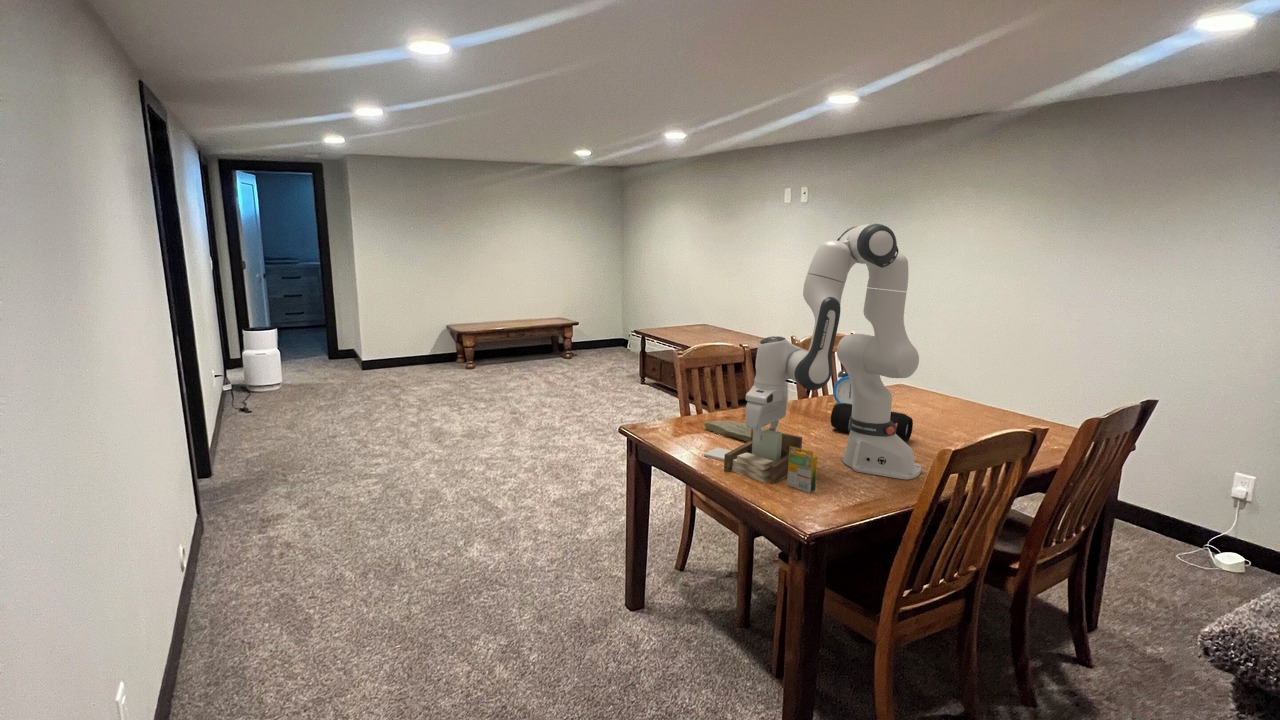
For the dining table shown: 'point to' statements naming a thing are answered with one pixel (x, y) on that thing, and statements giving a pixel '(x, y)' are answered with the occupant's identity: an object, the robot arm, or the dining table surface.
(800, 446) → the walnut corral
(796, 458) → the crayon box
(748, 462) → the offcut stack
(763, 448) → the pale green block
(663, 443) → the dining table surface
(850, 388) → the alarm clock
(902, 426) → the portable speaker
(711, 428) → the stone slab
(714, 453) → the grey plate
